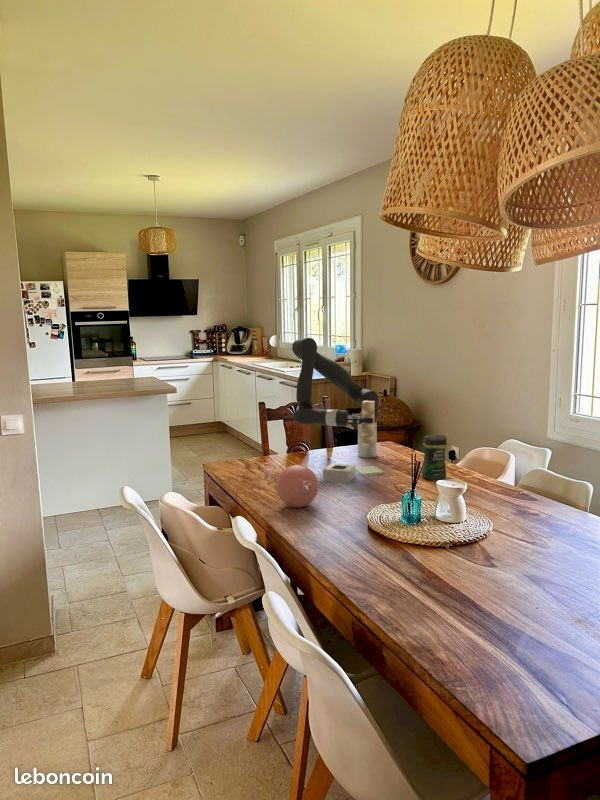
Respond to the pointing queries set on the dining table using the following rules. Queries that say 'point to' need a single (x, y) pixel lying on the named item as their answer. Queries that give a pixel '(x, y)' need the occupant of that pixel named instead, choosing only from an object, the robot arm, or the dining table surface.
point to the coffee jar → (434, 457)
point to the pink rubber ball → (297, 486)
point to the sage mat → (369, 470)
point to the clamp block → (339, 473)
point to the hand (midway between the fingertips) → (374, 419)
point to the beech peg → (368, 424)
